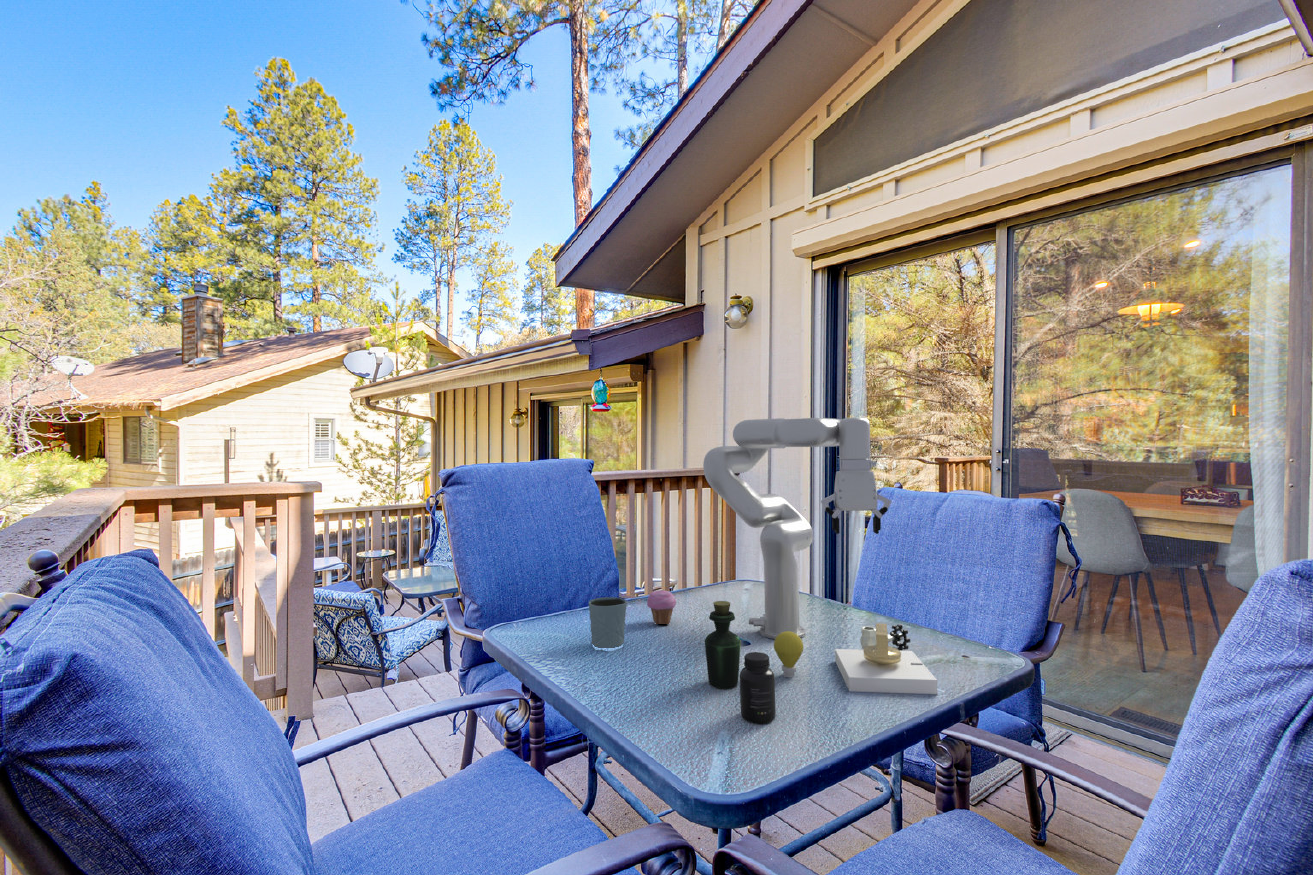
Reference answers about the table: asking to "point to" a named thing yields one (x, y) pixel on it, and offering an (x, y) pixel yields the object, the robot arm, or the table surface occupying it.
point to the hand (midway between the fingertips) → (856, 533)
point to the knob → (882, 648)
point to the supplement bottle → (757, 689)
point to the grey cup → (607, 621)
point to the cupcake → (661, 606)
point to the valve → (870, 637)
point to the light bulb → (788, 651)
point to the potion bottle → (722, 649)
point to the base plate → (885, 674)
